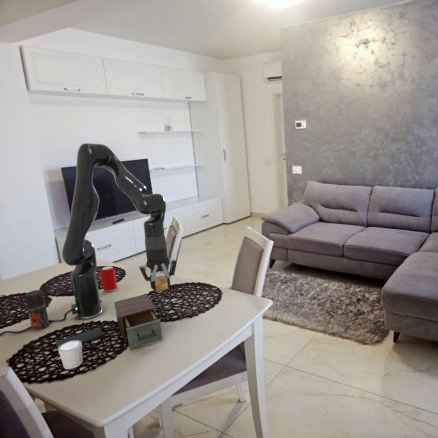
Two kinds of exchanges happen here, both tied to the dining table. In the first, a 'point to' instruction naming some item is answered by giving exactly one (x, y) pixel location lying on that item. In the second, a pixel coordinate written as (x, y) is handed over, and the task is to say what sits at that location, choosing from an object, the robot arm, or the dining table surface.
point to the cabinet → (132, 309)
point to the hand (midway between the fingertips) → (160, 287)
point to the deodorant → (37, 310)
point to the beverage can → (108, 278)
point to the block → (161, 283)
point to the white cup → (71, 354)
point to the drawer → (142, 329)
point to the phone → (83, 337)
